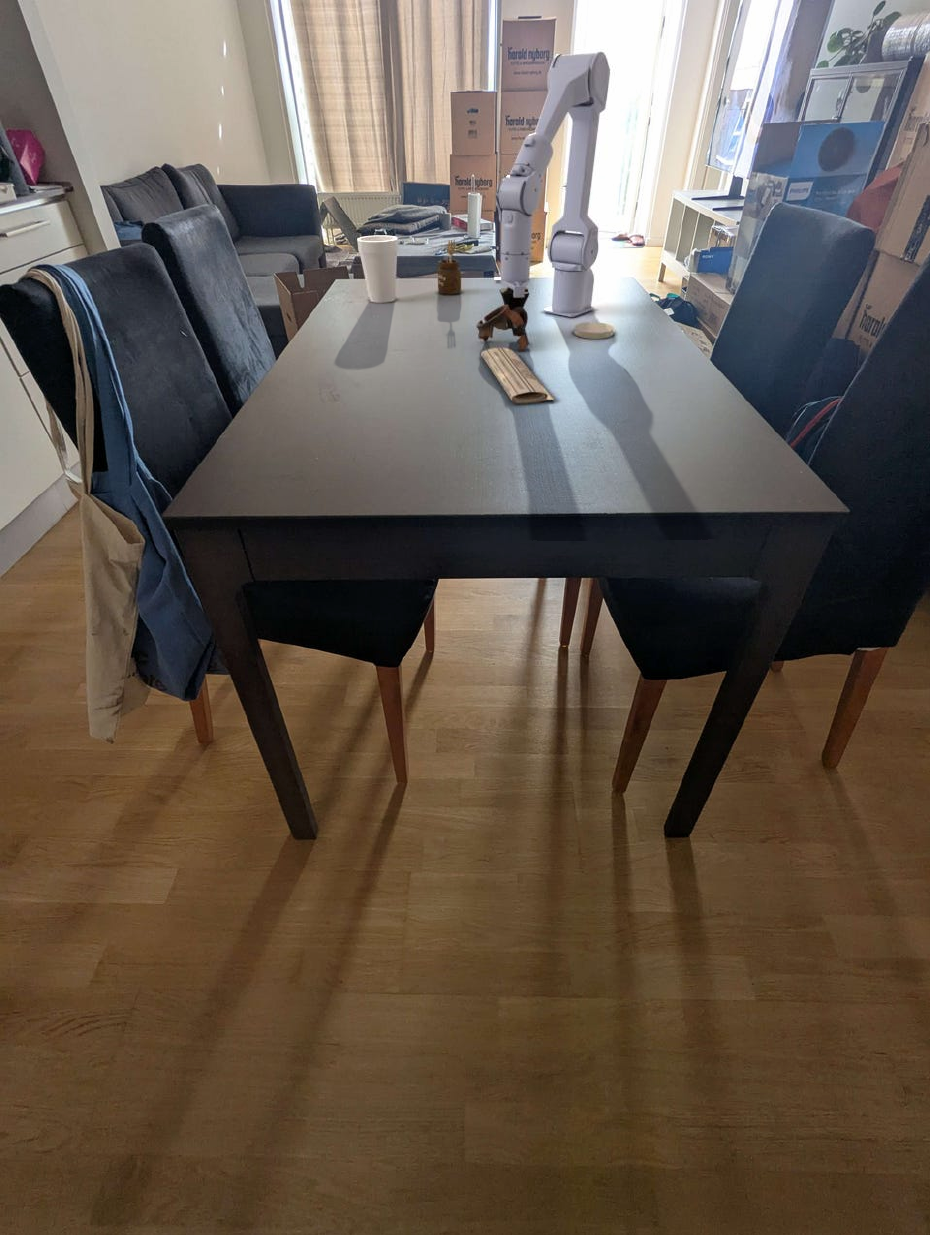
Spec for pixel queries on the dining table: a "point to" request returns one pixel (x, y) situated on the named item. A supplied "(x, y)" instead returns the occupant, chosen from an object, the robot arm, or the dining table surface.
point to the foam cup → (379, 266)
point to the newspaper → (515, 376)
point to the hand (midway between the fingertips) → (512, 328)
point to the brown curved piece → (505, 324)
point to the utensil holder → (449, 274)
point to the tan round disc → (593, 330)
